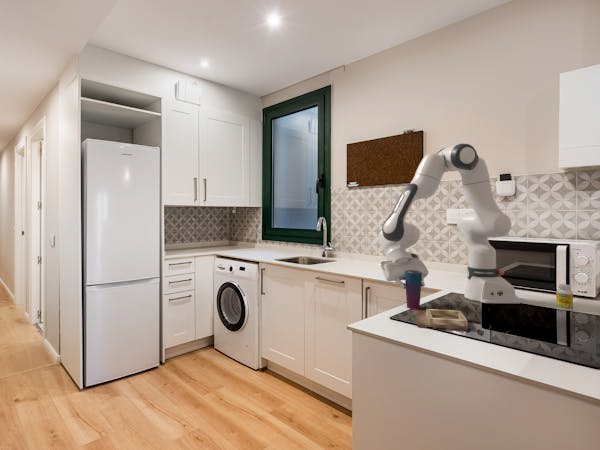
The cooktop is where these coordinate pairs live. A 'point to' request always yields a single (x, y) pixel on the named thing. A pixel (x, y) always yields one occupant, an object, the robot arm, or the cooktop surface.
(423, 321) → the light wooden shallow tray
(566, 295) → the supplement bottle
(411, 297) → the cup
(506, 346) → the cooktop surface
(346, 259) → the cooktop surface
